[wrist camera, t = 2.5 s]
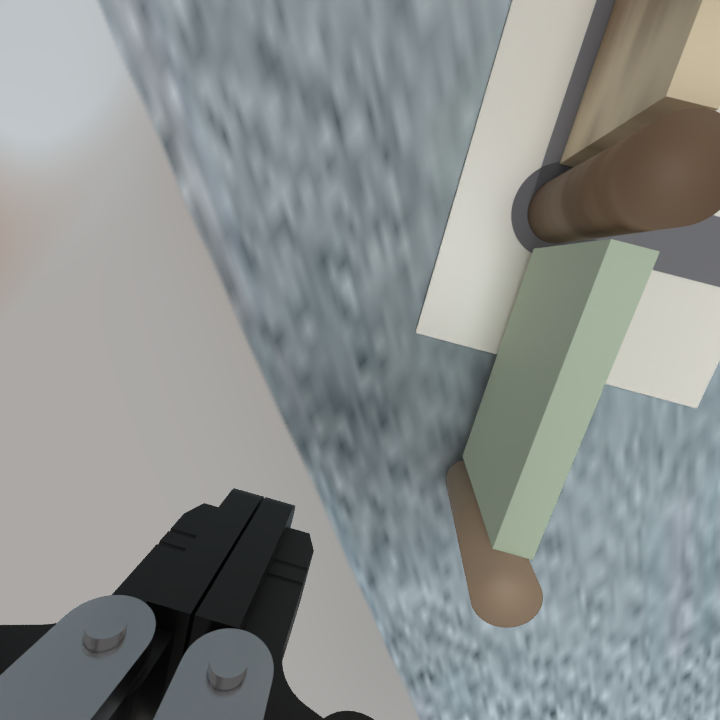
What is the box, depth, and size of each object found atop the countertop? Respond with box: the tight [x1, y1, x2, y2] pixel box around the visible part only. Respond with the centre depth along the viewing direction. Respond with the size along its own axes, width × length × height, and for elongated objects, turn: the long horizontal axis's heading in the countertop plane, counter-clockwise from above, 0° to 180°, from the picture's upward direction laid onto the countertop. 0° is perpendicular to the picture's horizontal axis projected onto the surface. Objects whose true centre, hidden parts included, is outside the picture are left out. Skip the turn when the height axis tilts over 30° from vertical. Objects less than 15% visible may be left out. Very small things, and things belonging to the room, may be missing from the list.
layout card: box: [416, 0, 720, 408], centre depth 16 cm, size 16×12×1 cm
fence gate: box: [446, 239, 660, 627], centre depth 14 cm, size 11×2×7 cm, turn 166°
